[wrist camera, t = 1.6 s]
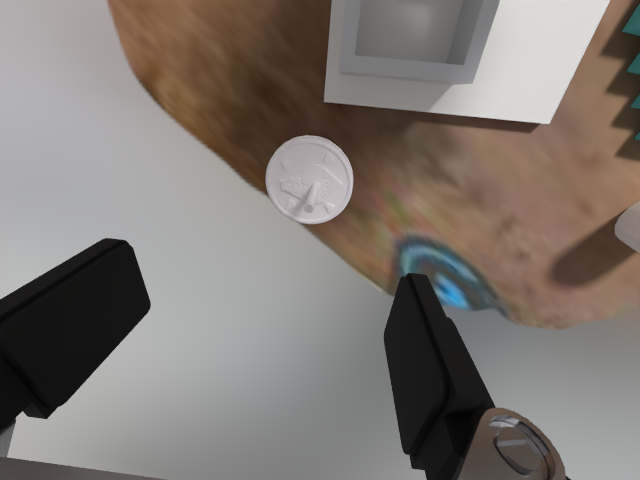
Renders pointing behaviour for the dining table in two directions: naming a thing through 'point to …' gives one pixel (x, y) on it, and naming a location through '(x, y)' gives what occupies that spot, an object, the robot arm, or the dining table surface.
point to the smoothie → (309, 179)
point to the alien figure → (636, 26)
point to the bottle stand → (458, 55)
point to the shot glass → (629, 227)
